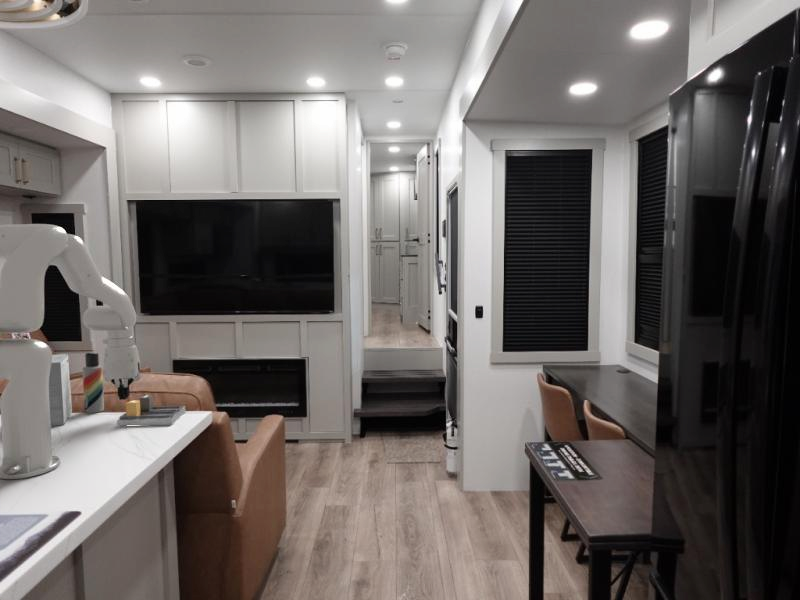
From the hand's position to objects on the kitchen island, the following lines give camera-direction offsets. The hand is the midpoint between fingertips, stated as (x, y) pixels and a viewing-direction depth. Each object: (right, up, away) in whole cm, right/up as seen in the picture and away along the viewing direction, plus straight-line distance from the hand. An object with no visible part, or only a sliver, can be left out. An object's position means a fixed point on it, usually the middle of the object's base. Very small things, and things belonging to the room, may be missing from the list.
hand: (124, 398), depth 167 cm
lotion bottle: (-14, -6, +7) cm, 17 cm away
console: (+10, -6, -2) cm, 12 cm away
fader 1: (+6, -4, -6) cm, 9 cm away
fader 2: (+7, -4, 0) cm, 8 cm away
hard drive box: (-21, -7, -2) cm, 22 cm away
